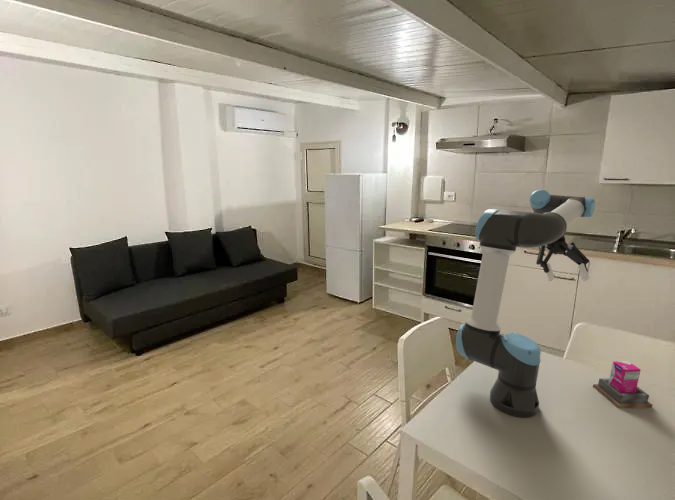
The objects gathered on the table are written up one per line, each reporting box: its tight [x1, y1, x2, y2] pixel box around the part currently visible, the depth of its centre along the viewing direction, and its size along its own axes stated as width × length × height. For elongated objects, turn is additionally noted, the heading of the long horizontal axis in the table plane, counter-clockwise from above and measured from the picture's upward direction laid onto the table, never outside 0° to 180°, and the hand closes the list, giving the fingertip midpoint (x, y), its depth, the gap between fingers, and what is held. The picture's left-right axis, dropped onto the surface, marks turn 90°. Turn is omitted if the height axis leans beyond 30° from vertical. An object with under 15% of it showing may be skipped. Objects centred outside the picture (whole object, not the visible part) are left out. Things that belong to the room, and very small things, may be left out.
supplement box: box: [608, 360, 641, 394], centre depth 131 cm, size 6×6×12 cm
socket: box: [592, 377, 653, 409], centre depth 132 cm, size 12×12×4 cm
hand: (569, 279), depth 146 cm, fingers open, 13 cm apart
